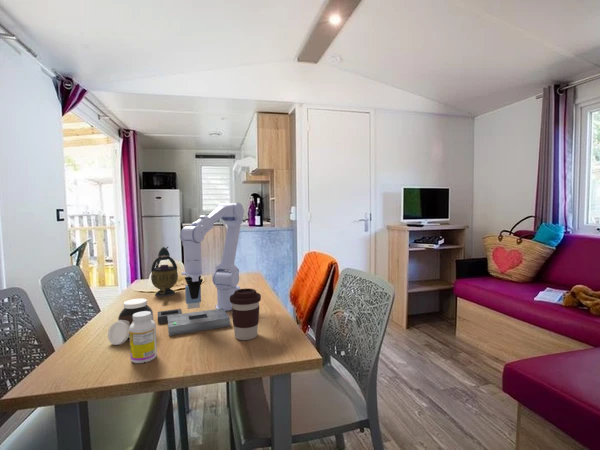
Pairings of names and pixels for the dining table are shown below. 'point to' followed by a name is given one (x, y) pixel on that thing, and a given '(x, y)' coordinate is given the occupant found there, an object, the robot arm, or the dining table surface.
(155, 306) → the dining table surface
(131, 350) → the supplement bottle
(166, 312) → the holster
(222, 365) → the dining table surface
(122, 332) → the spread jar
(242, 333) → the coffee cup
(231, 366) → the dining table surface
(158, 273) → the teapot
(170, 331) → the panel
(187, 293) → the plug
